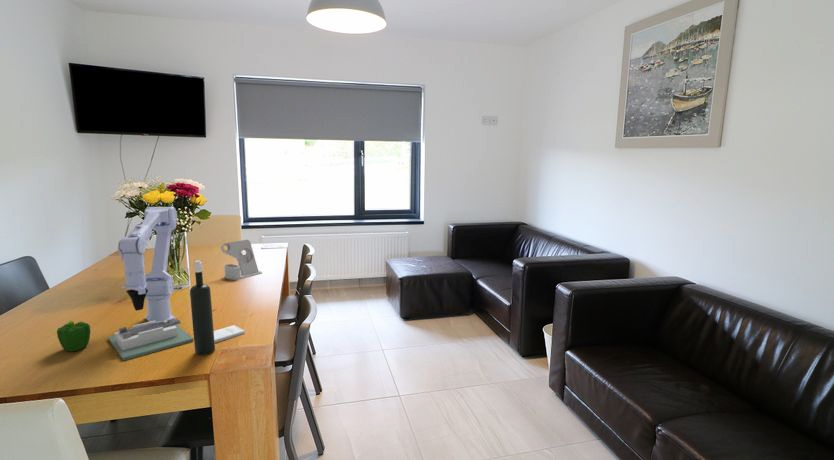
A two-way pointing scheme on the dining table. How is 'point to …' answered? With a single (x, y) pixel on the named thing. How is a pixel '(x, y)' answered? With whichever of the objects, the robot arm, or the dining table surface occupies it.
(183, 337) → the green base plate
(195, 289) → the wine bottle
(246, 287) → the dining table surface
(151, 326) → the strap
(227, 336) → the external hard drive
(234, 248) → the phone holder
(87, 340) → the bell pepper
